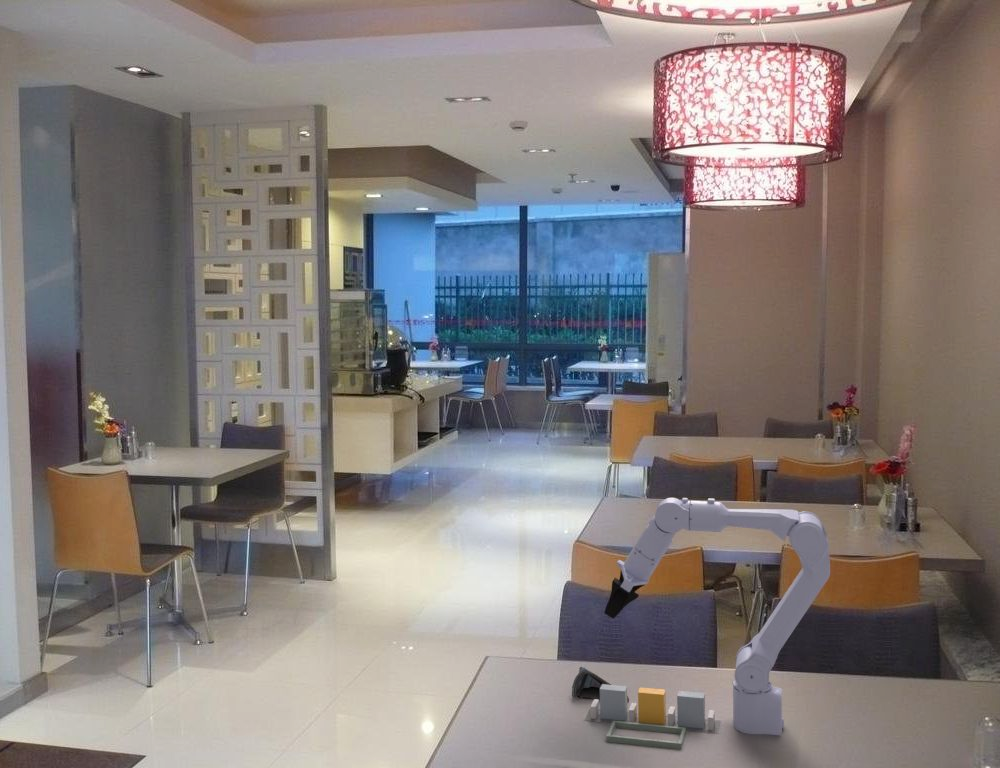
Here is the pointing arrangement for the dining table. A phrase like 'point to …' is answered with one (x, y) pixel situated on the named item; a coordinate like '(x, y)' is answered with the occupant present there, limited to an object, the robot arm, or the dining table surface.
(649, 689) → the block
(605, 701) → the block
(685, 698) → the block
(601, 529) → the dining table surface
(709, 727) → the block
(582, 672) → the chocolate cake
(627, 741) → the tray
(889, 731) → the dining table surface
